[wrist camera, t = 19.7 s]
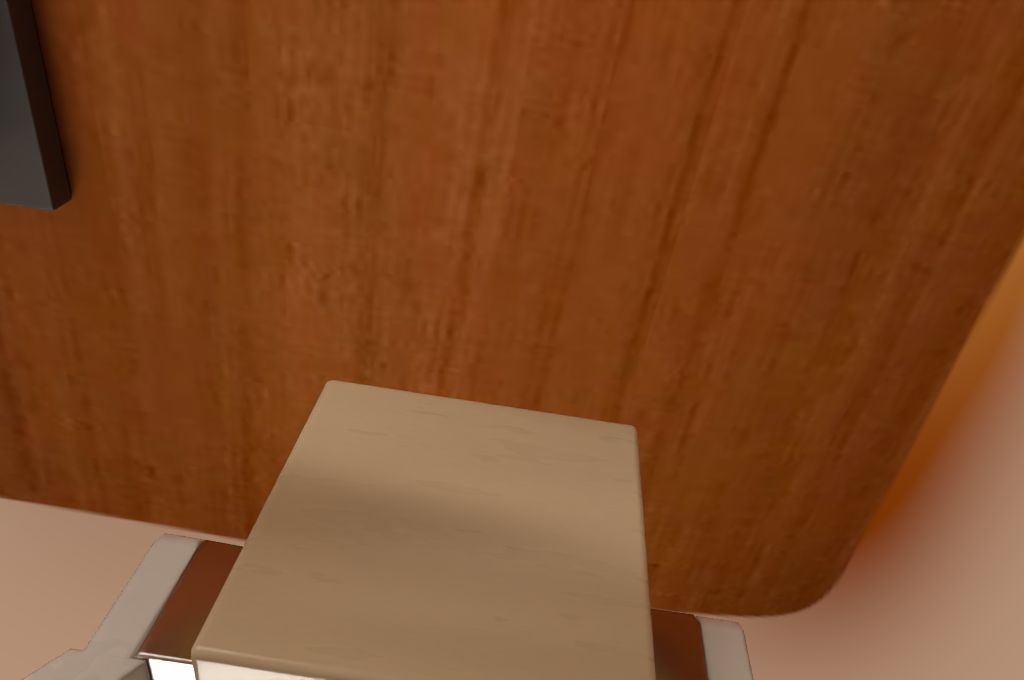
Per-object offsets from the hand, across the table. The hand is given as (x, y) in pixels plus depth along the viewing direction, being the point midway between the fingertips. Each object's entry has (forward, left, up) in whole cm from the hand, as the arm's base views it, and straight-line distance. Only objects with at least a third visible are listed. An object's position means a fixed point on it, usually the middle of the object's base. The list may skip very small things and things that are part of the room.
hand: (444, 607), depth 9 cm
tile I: (0, 0, -2) cm, 2 cm away
